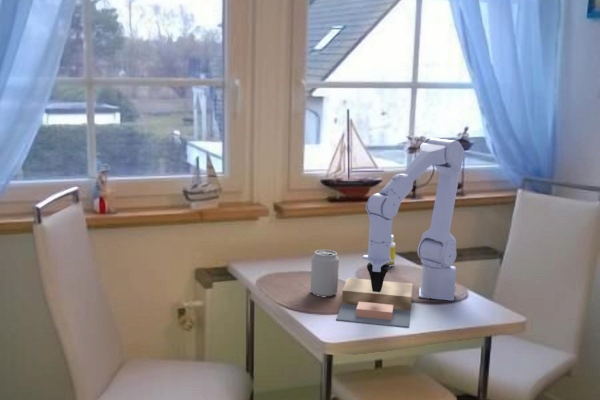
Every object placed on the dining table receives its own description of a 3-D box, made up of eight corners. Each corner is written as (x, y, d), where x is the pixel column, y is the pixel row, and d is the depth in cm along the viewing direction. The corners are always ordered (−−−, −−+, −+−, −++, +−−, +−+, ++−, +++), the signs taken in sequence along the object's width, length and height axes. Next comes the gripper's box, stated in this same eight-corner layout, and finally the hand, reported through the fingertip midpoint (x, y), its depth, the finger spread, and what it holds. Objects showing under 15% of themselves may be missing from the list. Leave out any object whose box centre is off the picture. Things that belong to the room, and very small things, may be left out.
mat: (410, 311, 190) (410, 310, 190) (408, 327, 178) (409, 326, 178) (341, 304, 193) (341, 303, 193) (336, 320, 181) (336, 319, 181)
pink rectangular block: (392, 312, 182) (391, 320, 182) (393, 304, 187) (392, 312, 188) (356, 308, 183) (355, 316, 183) (358, 301, 189) (358, 308, 189)
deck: (411, 297, 201) (412, 283, 201) (410, 311, 190) (411, 296, 189) (346, 291, 204) (347, 277, 204) (341, 304, 193) (342, 290, 192)
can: (328, 300, 196) (330, 257, 194) (305, 294, 200) (307, 252, 198) (342, 293, 203) (344, 251, 200) (319, 287, 206) (320, 246, 204)
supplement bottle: (397, 264, 234) (399, 235, 232) (389, 268, 229) (391, 238, 227) (381, 261, 236) (383, 232, 235) (374, 265, 232) (376, 235, 230)
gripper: (366, 232, 194) (363, 281, 197) (361, 245, 180) (358, 298, 183) (393, 235, 193) (389, 284, 196) (390, 248, 179) (386, 300, 182)
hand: (376, 291), depth 189 cm, fingers closed
